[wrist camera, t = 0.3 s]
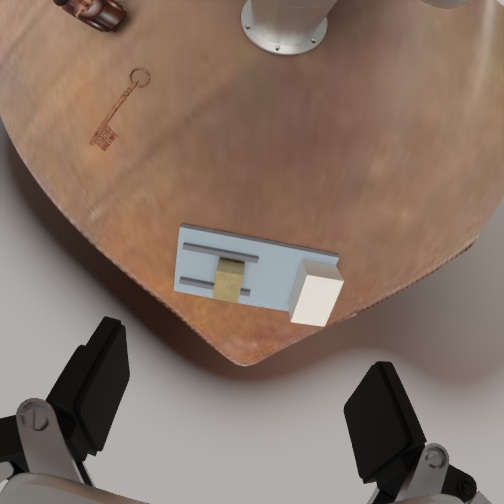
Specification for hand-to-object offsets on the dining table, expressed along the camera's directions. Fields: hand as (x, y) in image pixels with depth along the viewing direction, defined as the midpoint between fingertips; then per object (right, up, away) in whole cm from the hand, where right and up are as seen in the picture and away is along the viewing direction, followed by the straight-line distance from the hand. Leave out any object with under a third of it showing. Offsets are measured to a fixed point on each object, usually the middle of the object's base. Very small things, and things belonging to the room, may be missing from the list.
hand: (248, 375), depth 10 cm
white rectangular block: (+10, -1, +38) cm, 40 cm away
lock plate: (0, +1, +39) cm, 39 cm away
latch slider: (-4, +1, +37) cm, 37 cm away
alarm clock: (-23, +43, +20) cm, 52 cm away
